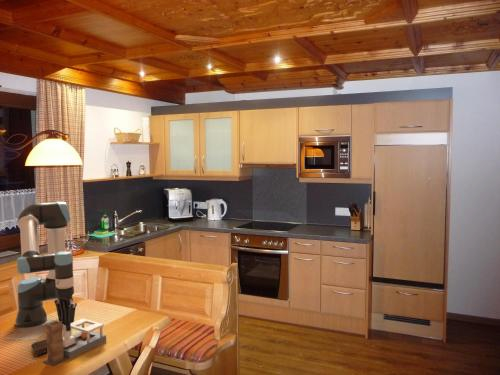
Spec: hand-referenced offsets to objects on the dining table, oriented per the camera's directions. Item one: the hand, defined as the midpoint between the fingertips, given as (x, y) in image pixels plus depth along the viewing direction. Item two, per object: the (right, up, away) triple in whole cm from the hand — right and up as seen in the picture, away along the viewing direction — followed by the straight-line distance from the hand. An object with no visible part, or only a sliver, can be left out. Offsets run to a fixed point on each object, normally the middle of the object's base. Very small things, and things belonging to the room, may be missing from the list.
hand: (66, 337), depth 189 cm
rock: (-12, -7, +3) cm, 14 cm away
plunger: (+5, -4, +9) cm, 11 cm away
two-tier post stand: (+3, -6, +6) cm, 9 cm away
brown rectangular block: (-1, -7, -8) cm, 11 cm away
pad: (-1, -7, -8) cm, 11 cm away
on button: (0, -3, 0) cm, 3 cm away
